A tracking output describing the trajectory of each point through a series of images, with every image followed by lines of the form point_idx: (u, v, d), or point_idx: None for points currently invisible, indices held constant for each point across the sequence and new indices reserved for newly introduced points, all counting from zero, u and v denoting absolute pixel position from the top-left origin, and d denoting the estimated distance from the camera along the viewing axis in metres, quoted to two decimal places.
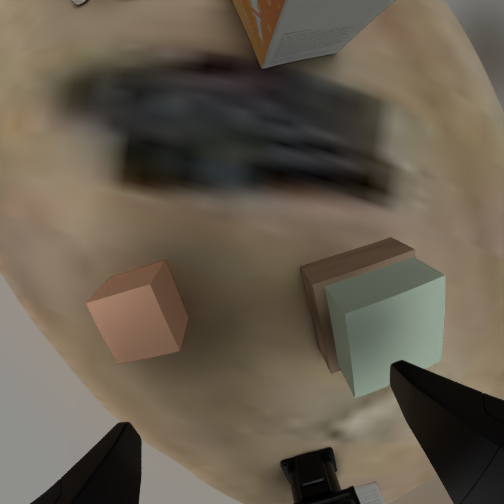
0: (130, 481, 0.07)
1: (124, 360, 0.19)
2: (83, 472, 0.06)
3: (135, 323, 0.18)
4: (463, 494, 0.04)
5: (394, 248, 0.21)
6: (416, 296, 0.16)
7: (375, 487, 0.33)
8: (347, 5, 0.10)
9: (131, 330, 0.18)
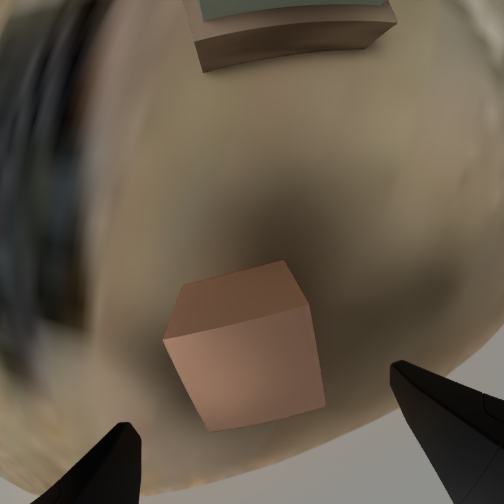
0: (130, 481, 0.07)
1: (319, 397, 0.11)
2: (83, 472, 0.06)
3: (243, 373, 0.10)
4: (463, 494, 0.04)
5: None
6: None
7: None
8: None
9: (258, 381, 0.10)
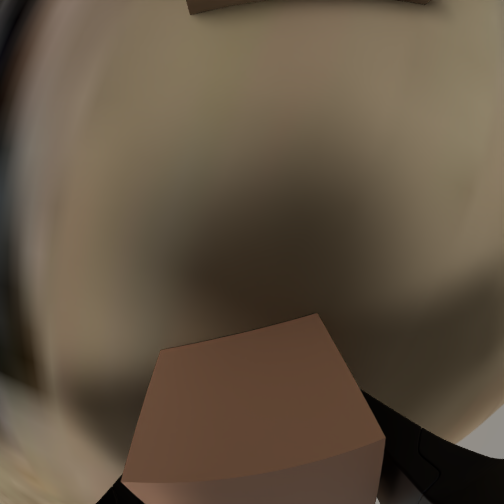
0: None
1: None
2: None
3: None
4: None
5: None
6: None
7: None
8: None
9: None
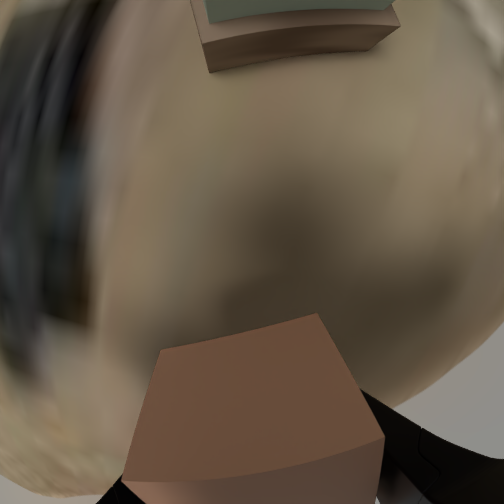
0: None
1: None
2: None
3: None
4: None
5: None
6: None
7: None
8: None
9: None
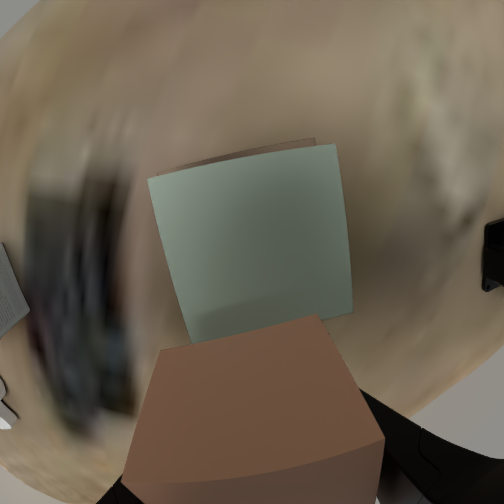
0: None
1: None
2: None
3: None
4: None
5: None
6: (177, 235, 0.11)
7: None
8: None
9: None
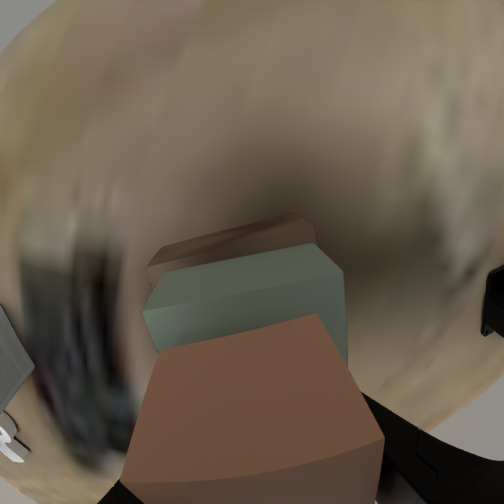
0: None
1: None
2: None
3: None
4: None
5: None
6: None
7: None
8: None
9: None
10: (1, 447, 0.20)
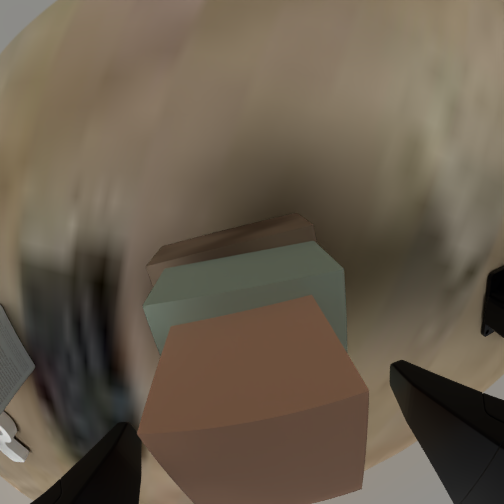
0: (130, 481, 0.07)
1: (356, 482, 0.07)
2: (83, 472, 0.06)
3: (258, 472, 0.06)
4: (463, 495, 0.04)
5: None
6: None
7: None
8: None
9: (278, 478, 0.06)
10: (1, 447, 0.20)
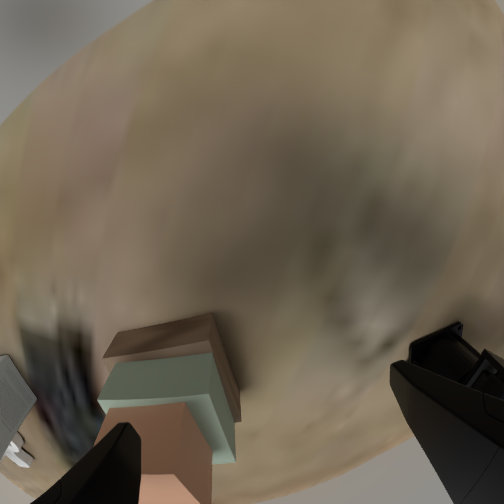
0: (130, 481, 0.07)
1: None
2: (83, 472, 0.06)
3: (141, 493, 0.10)
4: (463, 494, 0.04)
5: None
6: None
7: None
8: None
9: (153, 498, 0.11)
10: (10, 455, 0.24)
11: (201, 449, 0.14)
